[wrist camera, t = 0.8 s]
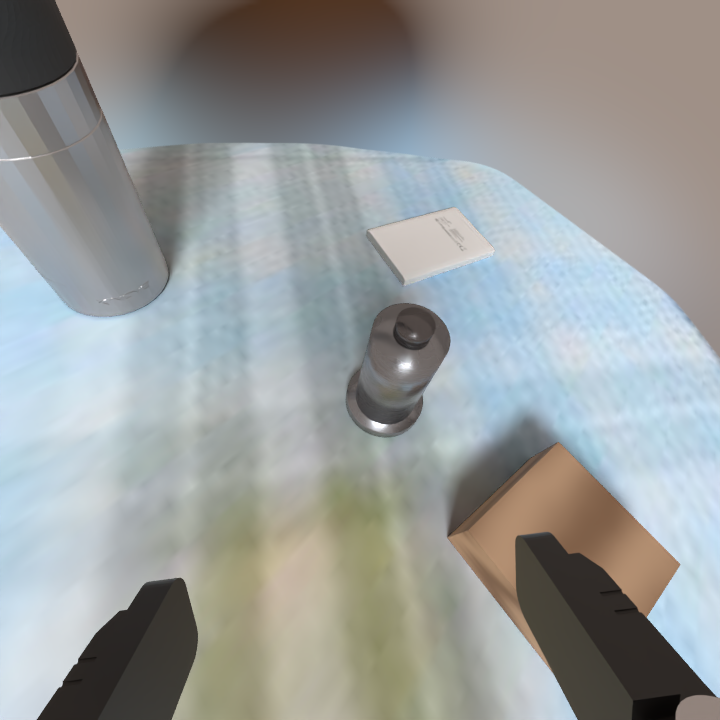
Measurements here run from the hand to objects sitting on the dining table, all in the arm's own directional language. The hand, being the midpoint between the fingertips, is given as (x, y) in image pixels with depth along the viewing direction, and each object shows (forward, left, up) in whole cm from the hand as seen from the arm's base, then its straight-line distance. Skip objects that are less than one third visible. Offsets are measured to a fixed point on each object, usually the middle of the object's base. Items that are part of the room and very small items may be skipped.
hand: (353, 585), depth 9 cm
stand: (+8, +14, -18) cm, 24 cm away
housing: (-8, +12, -18) cm, 23 cm away
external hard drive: (-20, +29, -19) cm, 40 cm away
